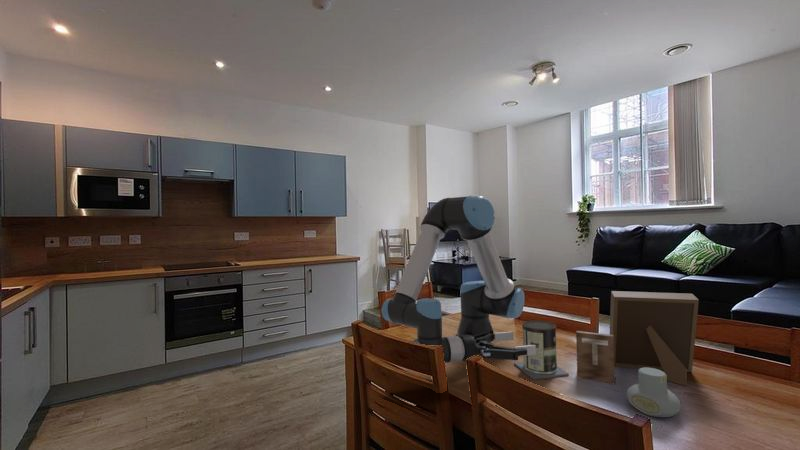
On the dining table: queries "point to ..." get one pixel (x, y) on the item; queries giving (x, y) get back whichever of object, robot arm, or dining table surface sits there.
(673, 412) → the air freshener
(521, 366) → the grey mat
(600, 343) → the letter tile
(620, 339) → the photo frame
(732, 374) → the dining table surface
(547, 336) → the coffee can
